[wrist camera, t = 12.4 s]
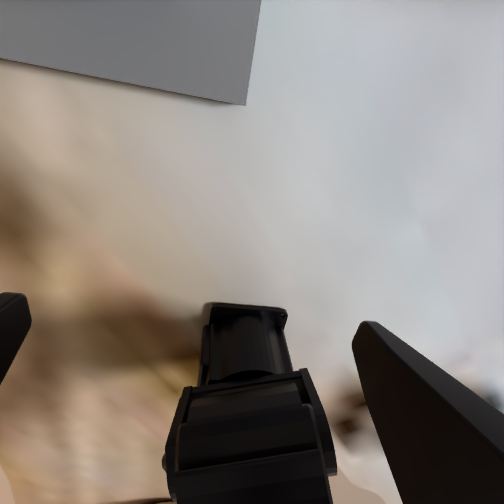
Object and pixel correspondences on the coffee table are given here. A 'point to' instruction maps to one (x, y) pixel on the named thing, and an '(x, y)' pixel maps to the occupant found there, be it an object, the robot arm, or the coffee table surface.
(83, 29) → the pin plate
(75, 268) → the coffee table surface
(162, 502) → the canister
